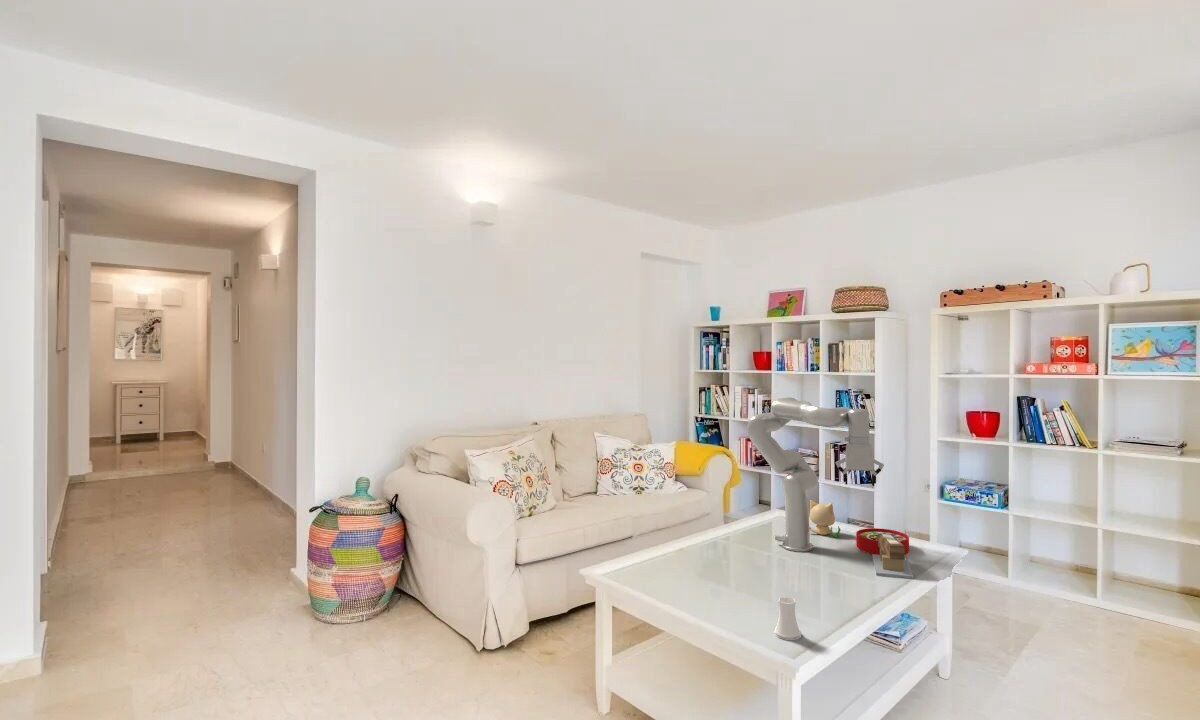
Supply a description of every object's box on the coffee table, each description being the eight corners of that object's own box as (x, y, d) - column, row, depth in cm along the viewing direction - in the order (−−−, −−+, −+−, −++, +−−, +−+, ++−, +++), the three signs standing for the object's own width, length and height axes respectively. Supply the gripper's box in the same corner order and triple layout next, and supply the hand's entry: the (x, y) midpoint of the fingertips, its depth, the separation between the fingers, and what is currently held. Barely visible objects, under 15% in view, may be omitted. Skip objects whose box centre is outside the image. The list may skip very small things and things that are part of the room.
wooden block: (904, 559, 223) (904, 545, 223) (890, 559, 224) (889, 545, 224) (891, 546, 239) (891, 533, 239) (878, 546, 239) (877, 532, 239)
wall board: (876, 575, 223) (876, 560, 223) (872, 556, 244) (872, 542, 244) (913, 578, 219) (912, 563, 219) (905, 559, 239) (905, 545, 239)
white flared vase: (799, 642, 173) (798, 607, 173) (772, 637, 176) (771, 603, 176) (802, 631, 179) (802, 597, 179) (776, 627, 183) (775, 593, 183)
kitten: (844, 534, 274) (843, 501, 274) (835, 540, 267) (834, 505, 267) (812, 528, 284) (811, 496, 284) (802, 533, 277) (802, 500, 277)
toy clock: (848, 528, 264) (894, 527, 264) (848, 542, 264) (894, 541, 264) (868, 542, 244) (918, 541, 244) (869, 557, 244) (919, 556, 244)
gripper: (835, 441, 237) (835, 485, 237) (884, 442, 231) (884, 487, 231) (835, 438, 244) (835, 481, 244) (882, 440, 238) (883, 483, 238)
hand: (859, 484), depth 238 cm, fingers open, 9 cm apart
